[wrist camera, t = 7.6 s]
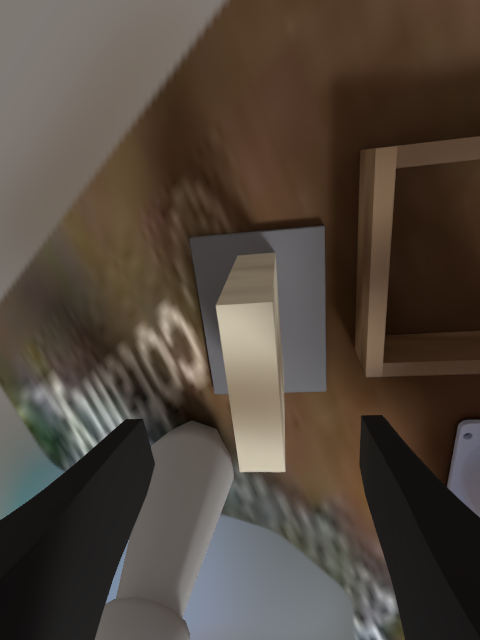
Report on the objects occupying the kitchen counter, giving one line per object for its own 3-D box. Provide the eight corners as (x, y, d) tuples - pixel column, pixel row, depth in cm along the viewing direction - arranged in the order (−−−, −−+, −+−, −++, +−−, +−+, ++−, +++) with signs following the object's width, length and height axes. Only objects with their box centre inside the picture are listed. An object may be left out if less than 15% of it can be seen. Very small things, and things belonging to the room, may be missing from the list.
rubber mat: (325, 387, 22) (326, 391, 22) (215, 390, 23) (215, 394, 23) (323, 225, 18) (324, 226, 18) (191, 237, 19) (189, 238, 19)
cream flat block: (283, 380, 22) (285, 472, 15) (251, 381, 22) (240, 471, 16) (275, 252, 19) (272, 302, 12) (237, 255, 19) (215, 305, 12)
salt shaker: (168, 399, 24) (59, 634, 12) (248, 426, 24) (217, 682, 12) (150, 458, 26) (45, 700, 15) (222, 482, 27) (176, 739, 15)
